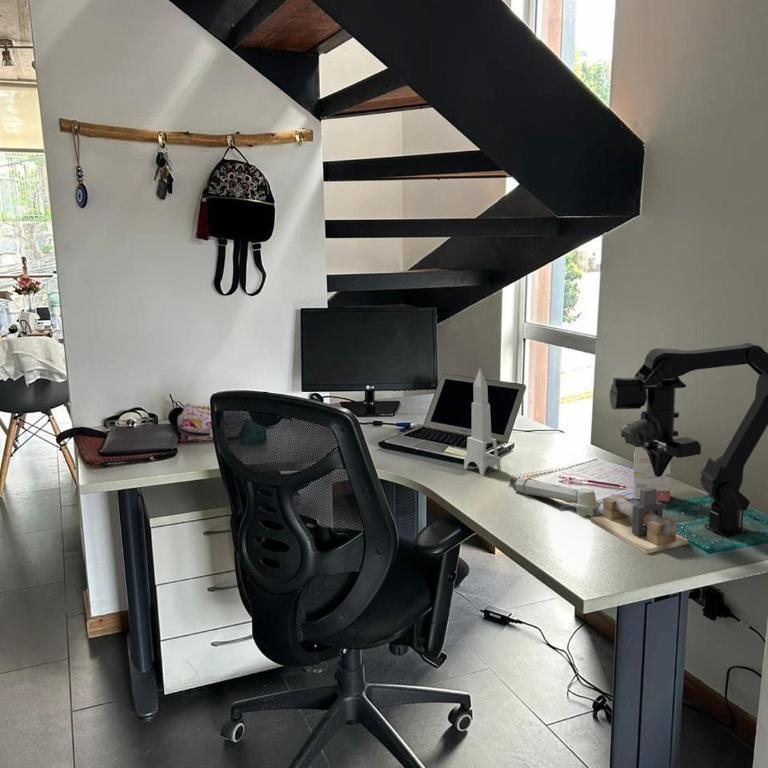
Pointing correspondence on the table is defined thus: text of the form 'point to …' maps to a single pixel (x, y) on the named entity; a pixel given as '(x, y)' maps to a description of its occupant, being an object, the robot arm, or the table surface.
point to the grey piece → (560, 494)
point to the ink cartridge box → (649, 477)
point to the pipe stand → (658, 528)
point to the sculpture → (481, 429)
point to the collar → (645, 510)
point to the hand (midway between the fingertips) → (658, 476)
